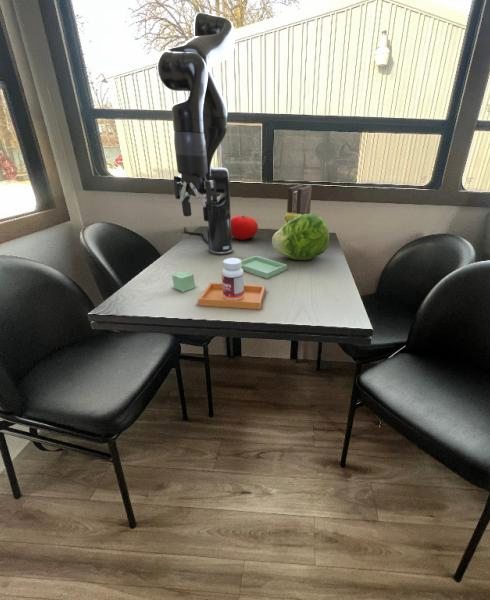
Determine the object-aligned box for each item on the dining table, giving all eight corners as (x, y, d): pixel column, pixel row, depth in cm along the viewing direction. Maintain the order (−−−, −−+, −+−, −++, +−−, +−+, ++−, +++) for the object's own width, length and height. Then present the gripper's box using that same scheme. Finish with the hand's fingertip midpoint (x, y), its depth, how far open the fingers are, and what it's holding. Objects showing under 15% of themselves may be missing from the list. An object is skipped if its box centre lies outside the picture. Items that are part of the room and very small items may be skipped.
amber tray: (198, 305, 84) (198, 299, 83) (210, 288, 94) (210, 282, 93) (260, 309, 83) (260, 303, 82) (265, 291, 94) (265, 285, 93)
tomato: (233, 234, 153) (233, 212, 147) (259, 236, 151) (259, 213, 146) (226, 241, 142) (224, 216, 137) (254, 243, 140) (253, 218, 135)
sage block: (173, 288, 93) (172, 274, 91) (185, 283, 97) (184, 270, 95) (182, 292, 91) (181, 278, 89) (194, 287, 94) (193, 274, 92)
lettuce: (275, 250, 134) (268, 211, 122) (326, 243, 133) (324, 203, 121) (275, 273, 119) (268, 231, 108) (333, 265, 118) (332, 222, 107)
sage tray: (235, 267, 111) (234, 262, 110) (255, 260, 120) (255, 255, 119) (267, 278, 103) (267, 273, 102) (286, 269, 112) (286, 264, 111)
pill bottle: (219, 296, 88) (216, 260, 83) (234, 290, 92) (233, 255, 87) (232, 303, 85) (230, 266, 80) (248, 296, 89) (247, 260, 84)
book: (296, 233, 160) (298, 184, 149) (311, 235, 157) (315, 185, 146) (281, 244, 141) (283, 188, 130) (298, 246, 139) (301, 190, 127)
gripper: (222, 154, 74) (225, 220, 81) (185, 151, 81) (191, 212, 88) (198, 154, 68) (204, 225, 76) (160, 151, 75) (169, 216, 83)
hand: (197, 218), depth 82 cm, fingers open, 8 cm apart
